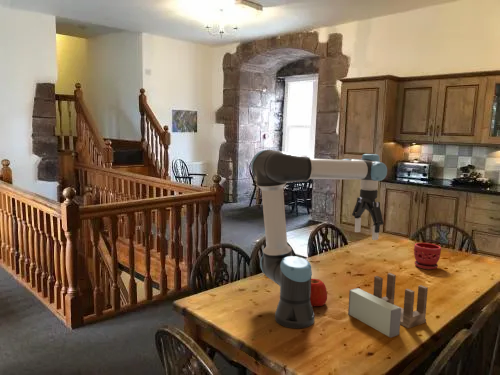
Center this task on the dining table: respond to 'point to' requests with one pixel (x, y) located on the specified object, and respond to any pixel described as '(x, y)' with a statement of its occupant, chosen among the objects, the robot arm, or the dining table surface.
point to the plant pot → (427, 255)
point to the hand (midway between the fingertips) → (365, 235)
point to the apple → (318, 293)
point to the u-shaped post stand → (407, 314)
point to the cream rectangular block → (375, 312)
